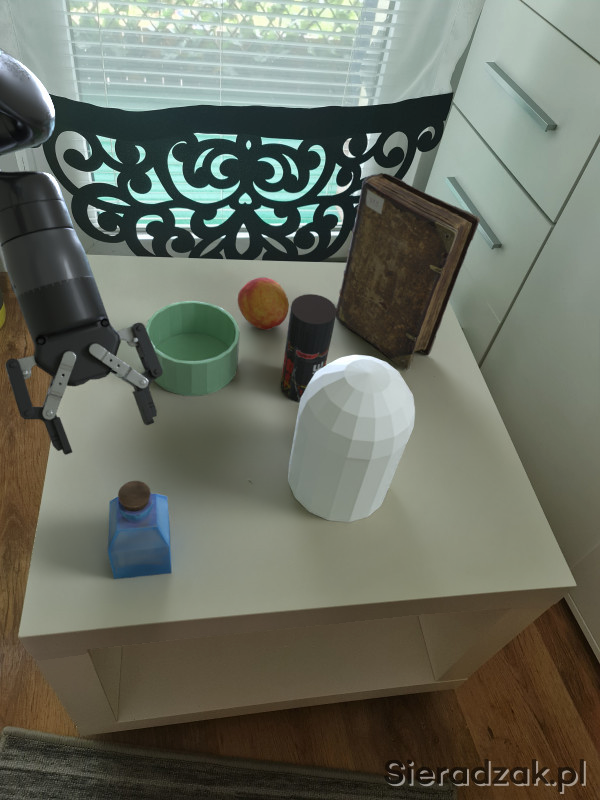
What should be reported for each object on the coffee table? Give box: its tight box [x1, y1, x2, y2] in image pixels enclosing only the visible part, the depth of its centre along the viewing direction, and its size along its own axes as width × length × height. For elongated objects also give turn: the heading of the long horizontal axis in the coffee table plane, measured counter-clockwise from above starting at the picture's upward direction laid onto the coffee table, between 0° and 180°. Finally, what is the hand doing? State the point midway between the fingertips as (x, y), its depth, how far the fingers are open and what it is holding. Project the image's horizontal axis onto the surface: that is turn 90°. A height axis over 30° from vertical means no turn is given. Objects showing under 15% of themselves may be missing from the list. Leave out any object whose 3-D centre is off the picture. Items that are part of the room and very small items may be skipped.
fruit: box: [237, 276, 290, 331], centre depth 96 cm, size 8×8×8 cm
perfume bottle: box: [107, 480, 172, 580], centre depth 66 cm, size 6×6×12 cm
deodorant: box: [279, 293, 337, 403], centre depth 85 cm, size 6×6×15 cm
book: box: [335, 172, 481, 371], centre depth 91 cm, size 17×7×25 cm, turn 42°
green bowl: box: [145, 300, 241, 397], centre depth 89 cm, size 13×13×6 cm
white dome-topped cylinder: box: [287, 354, 416, 523], centre depth 73 cm, size 14×13×20 cm
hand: (110, 438), depth 63 cm, fingers open, 8 cm apart
